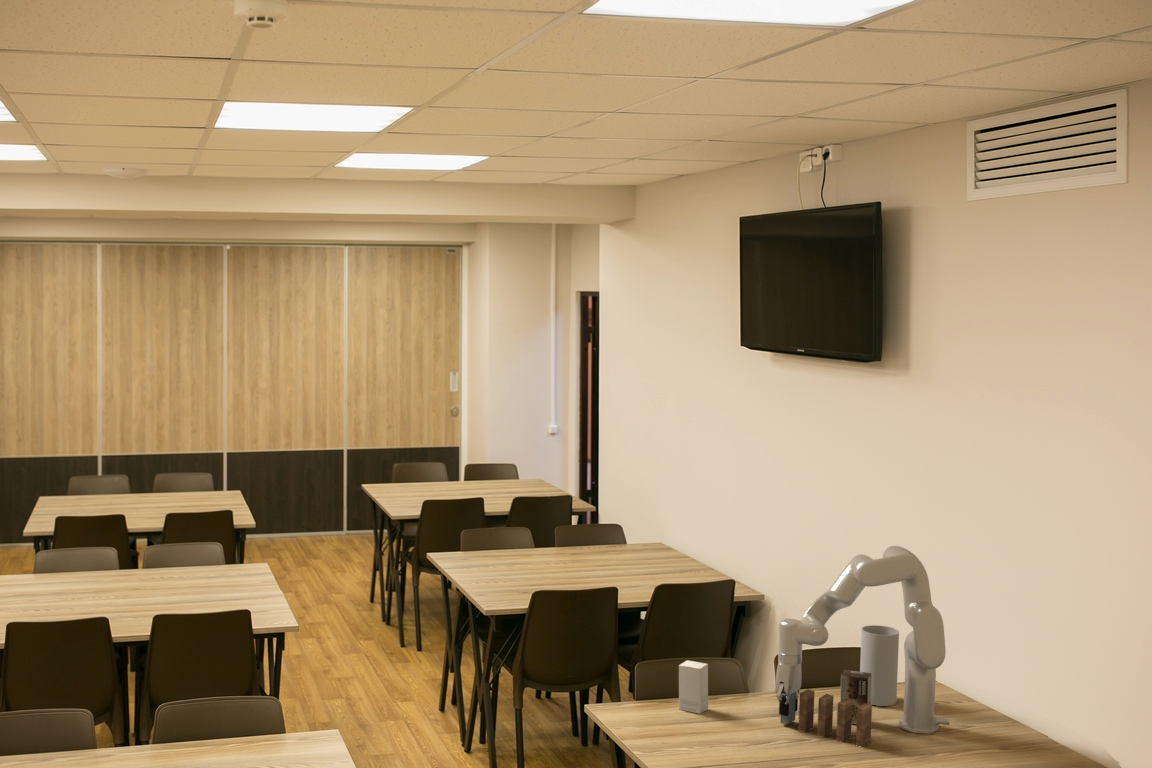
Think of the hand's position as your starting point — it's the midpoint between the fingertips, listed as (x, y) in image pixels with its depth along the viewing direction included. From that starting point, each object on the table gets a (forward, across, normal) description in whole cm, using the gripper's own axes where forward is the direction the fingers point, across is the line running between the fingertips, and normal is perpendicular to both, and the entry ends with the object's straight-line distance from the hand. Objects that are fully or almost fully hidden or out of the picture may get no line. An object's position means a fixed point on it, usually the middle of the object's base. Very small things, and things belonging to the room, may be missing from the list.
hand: (788, 712), depth 362 cm
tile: (+3, 0, 0) cm, 3 cm away
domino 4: (+4, 0, +26) cm, 26 cm away
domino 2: (+4, 0, +13) cm, 14 cm away
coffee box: (+4, -17, +16) cm, 23 cm away
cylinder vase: (+4, -41, +13) cm, 43 cm away
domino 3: (+4, 0, +20) cm, 20 cm away
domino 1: (+4, 0, +6) cm, 8 cm away
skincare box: (+4, +9, -31) cm, 32 cm away
